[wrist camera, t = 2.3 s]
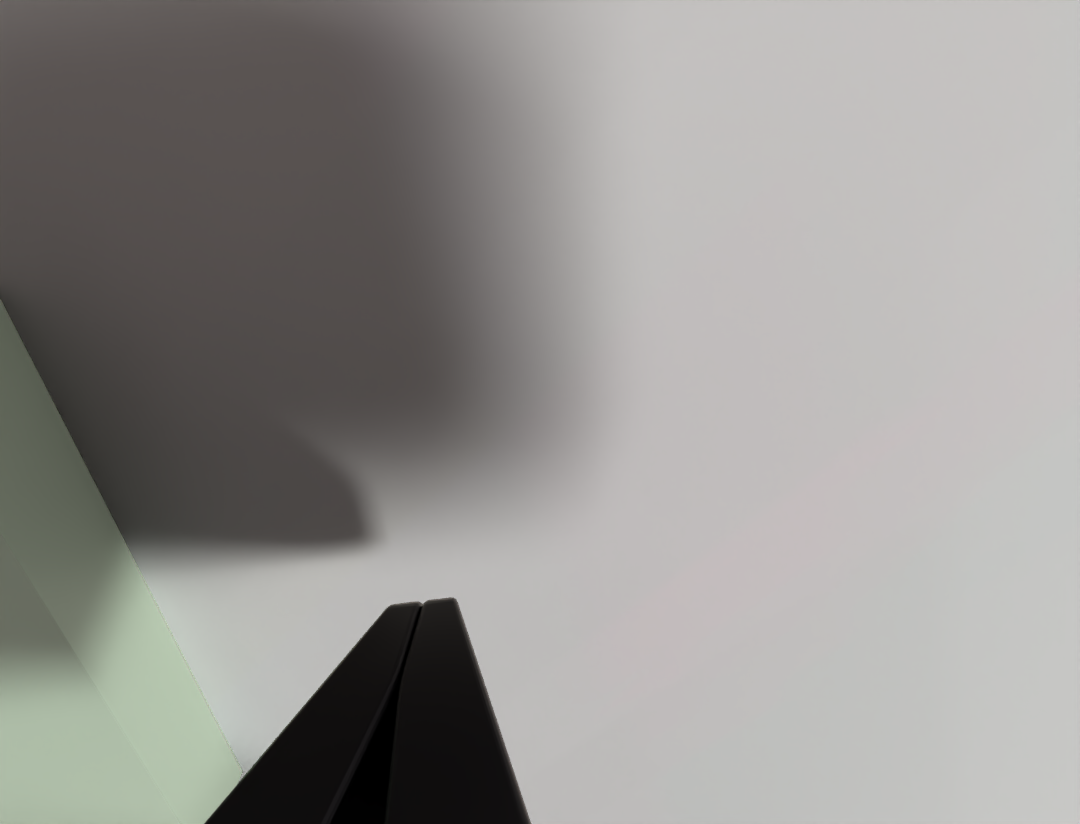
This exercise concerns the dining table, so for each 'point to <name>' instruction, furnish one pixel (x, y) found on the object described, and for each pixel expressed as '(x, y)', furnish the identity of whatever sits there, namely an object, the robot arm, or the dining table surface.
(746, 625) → the dining table surface
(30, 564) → the cover plate
